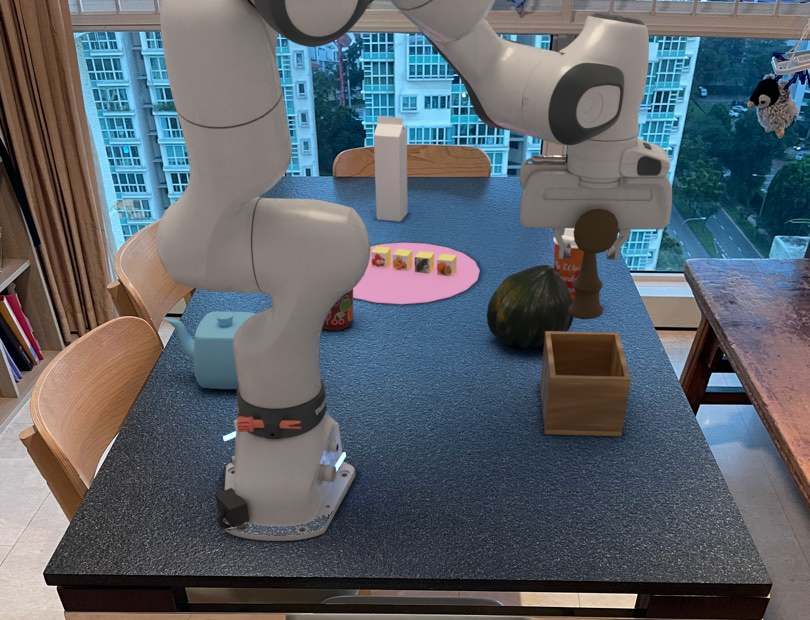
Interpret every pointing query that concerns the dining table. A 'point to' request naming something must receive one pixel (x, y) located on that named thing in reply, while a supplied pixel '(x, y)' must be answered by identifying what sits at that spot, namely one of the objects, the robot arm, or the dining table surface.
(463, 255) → the platter
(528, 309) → the squash
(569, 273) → the paper cup
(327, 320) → the smoothie
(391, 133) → the milk
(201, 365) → the teapot
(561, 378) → the caddy
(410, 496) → the dining table surface
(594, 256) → the kendama
